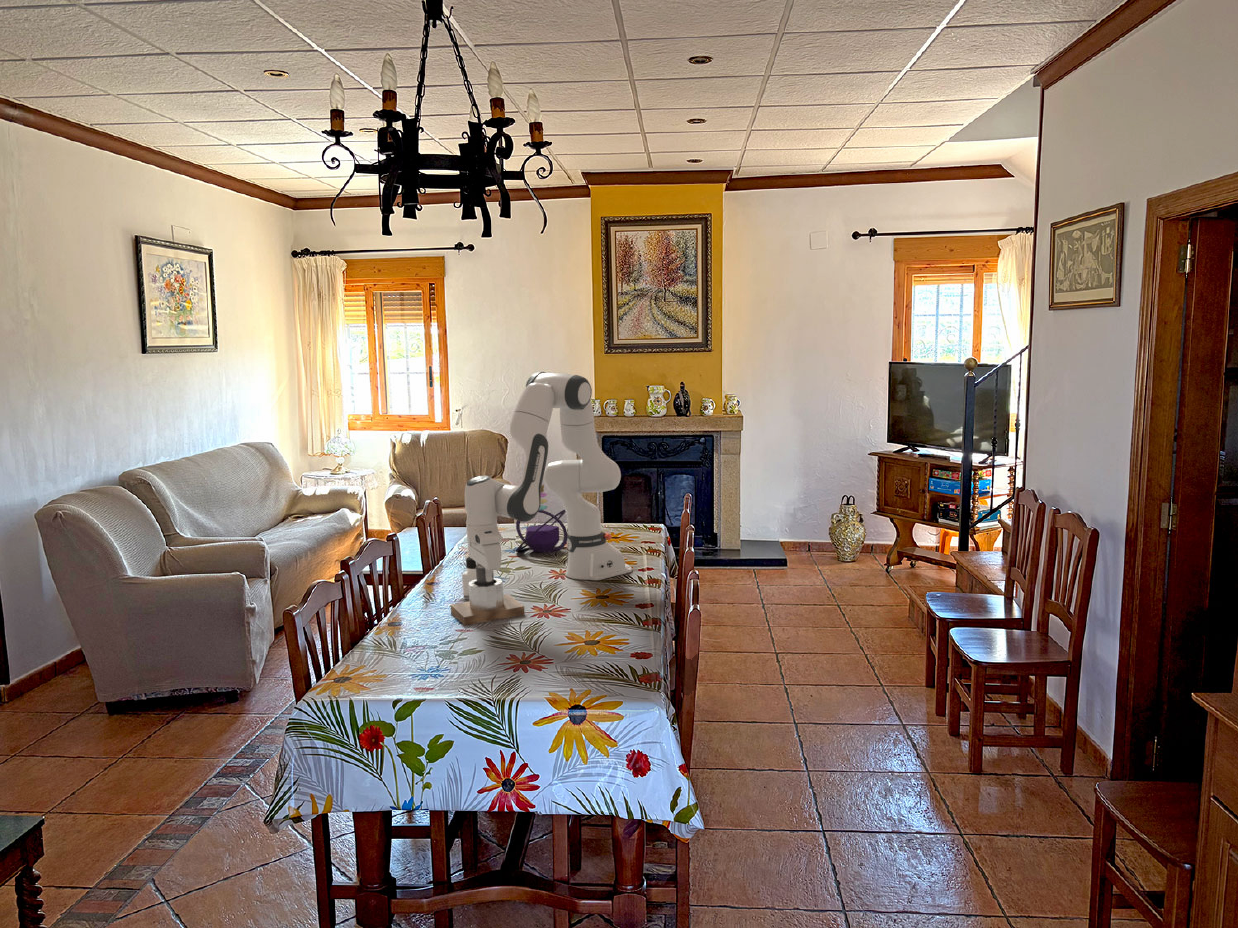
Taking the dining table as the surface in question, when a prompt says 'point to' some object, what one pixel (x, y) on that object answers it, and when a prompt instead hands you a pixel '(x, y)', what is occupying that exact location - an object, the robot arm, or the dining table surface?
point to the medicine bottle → (468, 575)
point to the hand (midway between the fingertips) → (485, 578)
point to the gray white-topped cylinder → (482, 576)
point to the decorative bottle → (543, 532)
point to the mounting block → (486, 611)
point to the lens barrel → (486, 595)
